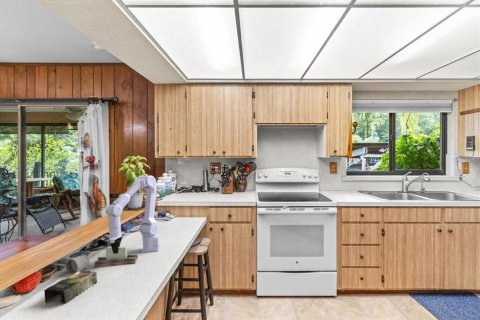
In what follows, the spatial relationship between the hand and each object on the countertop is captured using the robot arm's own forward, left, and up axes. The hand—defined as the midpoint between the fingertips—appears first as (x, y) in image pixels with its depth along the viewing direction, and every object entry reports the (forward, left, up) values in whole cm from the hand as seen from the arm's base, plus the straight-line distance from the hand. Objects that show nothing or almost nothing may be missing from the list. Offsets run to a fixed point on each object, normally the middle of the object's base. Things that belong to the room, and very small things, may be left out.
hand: (116, 252), depth 157 cm
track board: (0, 0, -5) cm, 5 cm away
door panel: (0, 0, -3) cm, 3 cm away
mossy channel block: (+10, +31, -6) cm, 33 cm away
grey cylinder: (+18, +7, -6) cm, 20 cm away
